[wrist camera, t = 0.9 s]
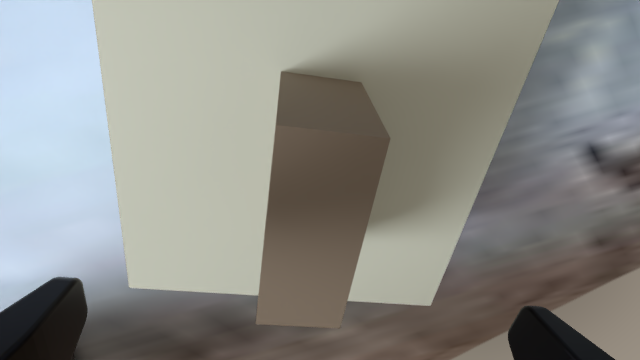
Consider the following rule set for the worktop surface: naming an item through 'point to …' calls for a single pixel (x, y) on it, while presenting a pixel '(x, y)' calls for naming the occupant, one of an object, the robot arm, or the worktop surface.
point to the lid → (306, 141)
